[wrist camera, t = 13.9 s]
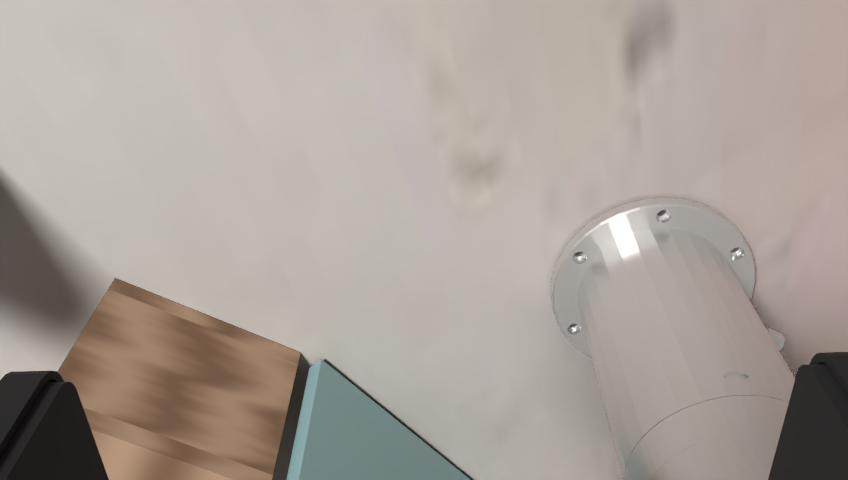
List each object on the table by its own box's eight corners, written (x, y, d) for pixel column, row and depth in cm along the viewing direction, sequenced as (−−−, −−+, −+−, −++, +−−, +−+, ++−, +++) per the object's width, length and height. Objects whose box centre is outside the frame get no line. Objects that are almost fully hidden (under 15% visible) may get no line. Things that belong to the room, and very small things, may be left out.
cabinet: (300, 352, 54) (269, 491, 44) (202, 523, 63) (157, 671, 53) (114, 278, 51) (34, 409, 41) (40, 469, 60) (-40, 615, 50)
